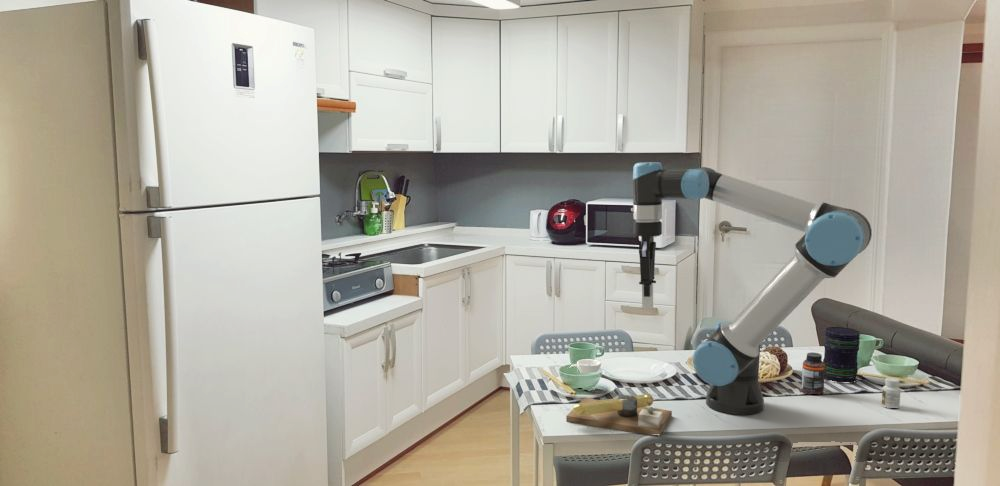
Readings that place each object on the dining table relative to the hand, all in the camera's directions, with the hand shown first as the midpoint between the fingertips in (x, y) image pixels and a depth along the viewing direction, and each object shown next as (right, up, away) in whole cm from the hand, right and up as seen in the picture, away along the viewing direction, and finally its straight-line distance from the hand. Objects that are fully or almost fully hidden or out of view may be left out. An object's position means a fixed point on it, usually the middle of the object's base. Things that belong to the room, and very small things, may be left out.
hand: (647, 307), depth 209 cm
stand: (-9, -28, -7) cm, 30 cm away
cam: (-11, -27, -10) cm, 30 cm away
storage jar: (+64, -24, +27) cm, 73 cm away
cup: (-16, -25, +17) cm, 34 cm away
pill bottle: (+67, -28, +3) cm, 72 cm away
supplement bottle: (+50, -26, +15) cm, 58 cm away
